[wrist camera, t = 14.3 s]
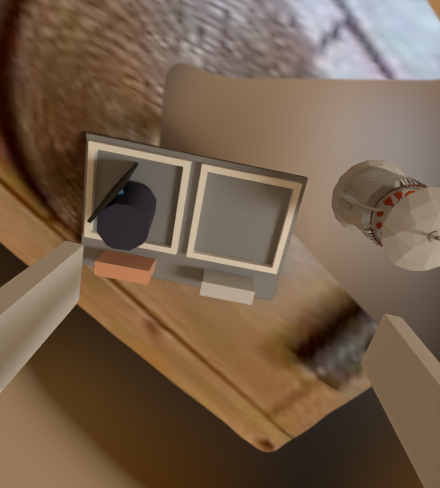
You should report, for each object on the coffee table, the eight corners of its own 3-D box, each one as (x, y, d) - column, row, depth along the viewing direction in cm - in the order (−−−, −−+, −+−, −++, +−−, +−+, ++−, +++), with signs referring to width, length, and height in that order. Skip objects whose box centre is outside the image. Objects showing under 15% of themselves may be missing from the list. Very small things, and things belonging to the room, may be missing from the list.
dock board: (90, 132, 42) (71, 134, 37) (305, 176, 43) (314, 184, 38) (84, 260, 48) (67, 276, 43) (271, 296, 49) (275, 316, 44)
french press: (392, 239, 45) (560, 368, 22) (309, 223, 45) (389, 337, 22) (420, 167, 42) (656, 230, 18) (331, 149, 41) (454, 191, 18)
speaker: (98, 179, 43) (68, 204, 33) (137, 161, 42) (118, 181, 32) (128, 229, 46) (108, 265, 36) (165, 212, 45) (155, 245, 35)
